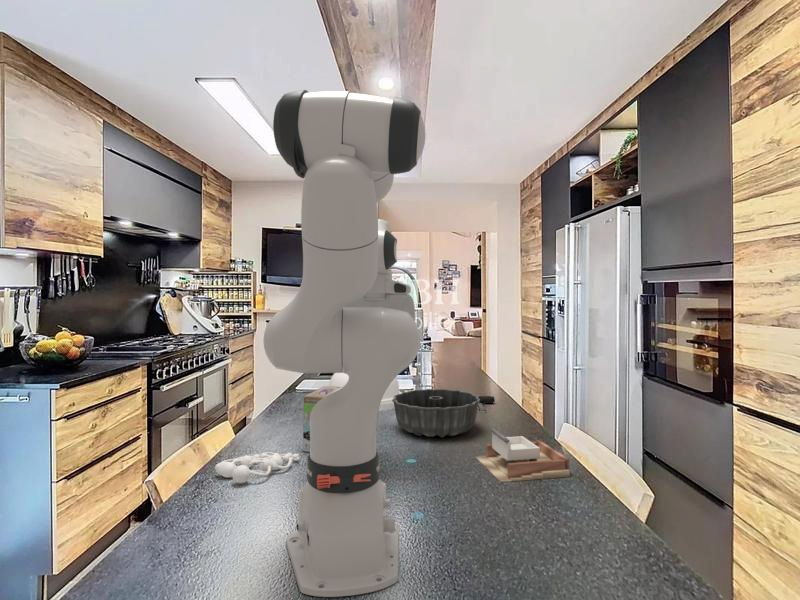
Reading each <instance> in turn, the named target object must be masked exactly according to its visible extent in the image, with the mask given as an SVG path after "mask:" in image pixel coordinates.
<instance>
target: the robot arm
mask: <svg viewBox="0 0 800 600" xmlns="http://www.w3.org/2000/svg"><path fill="white" fill-rule="evenodd" d="M272 123H273V124H272V130H273V137H274V142H275V147H276V149H277V151H278V153H279V155H280V156H281V158H282V159H283V160H284V162H286V165H288V166H290V167H291V168H292V169H293V171H294V173H295V175H296V176H298V177H299V178H301V179H304V180H303V186H302V195H301V207H300V209H301V211H300V213H301V214H300V215H301V217H300V219H301V220H300V223H301V241H302V243H301V244H302V278H301V279H302V280H301V283H300V287H299V289H298V291H297V293H296V295H295V296H294V298H293V299H292V300H291V301H290V302H289V303H288V304H287V305H286V306H285V307H284V308H282V309H280V310H278V311H277V312H276V313H274V315H273V316H272V317H271V318H270V320H269V321H268V323H267V325H266V326H265V330H264V332H263V333H264V334H263V347H264V348H263V349H264V351H265V355H266V357H267V359H268V360H269V362H270V363H271V364H272V366H273V367H275V369H279V370H284V371H287V372H294V373H299V374H334V373H345V374H347V375H348V376H349V379H348V382H347V383H346V385H345V386H344V387H342V388H341V389H339V390H337V391H335V392H333V393H331V394H329V395H327V396H326V397H324V398H322V399H321V400H320V401H318V402H317V403H316V404H315V406H314V407H313V409H312V411H311V414H310V452H309V454H308V456H307V460H306V461H307V462H306V478H307V481H306V483H305V484H304V485H303V486H302V487H301V489H299V490H298V499H297V500H298V504H297V505H298V506H297V515H298V516H297V524H296V530H295V531H293V532H291V533H289V534H288V535H286V537H285V538H286V539H285V546H286V549H287V553H288V557H289V558H290V559H291V560H290V563H291V567H292V568H293V569H294V570H293V573H294V577H295V579H296V582H297V586H298V589H299V591H300V592H301V594H305V595H306V596H313V597H320V598H321V597H323V598H337V597H347V596H356V595H357V596H358V595H363V594H368V593H373V592H377V591H380V590H384V589H386V588H388V587H391V586H392V585H394V584H396V583H397V582H398V580H399V562H400V561H399V557H400V556H399V552H400V551H399V548H400V547H399V545H400V544H399V540H400V539H399V537H400V536H399V535H400V534H399V531H400V530H399V526H398V525H397V524H396V523H395V522H396V521H395V516H394V515H389V516H387V509H388V508H391V498H387V494H386V493H387V484H386V483H385V482H384V481H382V480H381V479H380V467H381V466H380V459H379V452H378V451H377V430H378V419H379V418H378V416H379V412H380V411H379V406H380V403H381V400H382V397H383V395H384V393H385V391H386V389H387V388H388V386H389V385H390V383H391V382H392V381H393V380H394V379H395V377H396V378H397V376H398V375H400V374H401V373H402V372H403V371H405V370H406V369H408V368H409V366H410V365H411V364H412V363H413V362H414V360H415V359H416V357H417V355H418V353H419V351H420V347H421V334H420V328H419V327H418V325H417V323H416V308H415V307H416V306H415V301H414V298H413V297H412V296H411V295H410V293H411V291H412V288H411V286H410V285H409V284H406V283H403V282H401V281H398V280H394V279H393V272H392V267H393V266H394V265H395V264H396V263H397V262H398V259H397V244H398V243H397V242H398V239H397V238H396V237H395V236H394V235H393V234H392V232H391V228H390V223H389V222H388V221H387V220H384V219H383V218H379V212H378V203H379V202H381V201H382V200H383V199H384V198H385V197H386V196H387V195H388V193H389V192H390V191H391V190H392V189H391V188H392V186H393V183H394V178H395V175H398V174H406V173H408V172H410V171H412V170H413V169H414V168H415V167H416V166H417V165H418V162H419V159H421V156H422V154H423V152H424V150H425V149H424V148H425V144H426V136H427V135H426V126H425V122H424V119H423V117H422V111H421V109H420V108H419V107H418V106H417V105H416V103H415V102H413V101H410V100H407V99H404V98H402V97H396V96H394V98H393V99H392V98H389V97H384V96H379V95H374V94H368V93H367V94H366V93H357V92H352V91H350V90H323V91H322V90H321V91H310V92H309V91H308V90H307V89H302V90H295V91H291V92H287V93H284V94H283V95H282V96H281V98H280V99H279V100H278V102H277V104H276V105H275V109H274V114H273V122H272ZM378 411H379V412H378Z"/></svg>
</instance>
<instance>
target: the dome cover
mask: <svg viewBox="0 0 800 600" xmlns="http://www.w3.org/2000/svg"><path fill="white" fill-rule="evenodd" d="M348 379H349V376H348V375H347V374H345V373H333V374H332V376H331V378H330V380H329V384H328V386H334V387H344V386H345V385H346V383H347V382H348ZM399 386H400V385H399V383H398V379H397V376H396V377H395V379H394V380H393V381H392V382H391V383H390V385H389V386H388V388H387V389H386V391H385V393H384V395H383V397H382V400H381V403H380V406H379V411H378V413H379V412H383V411H382V410H384V411H389V410H388V409H390V410H393V409H392V408H394V409H395V407H394V402H393V401H392V399H394V398H393V397H394V396H395V395H397V394H401V393H402V391H400V387H399Z"/></svg>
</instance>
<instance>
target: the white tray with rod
mask: <svg viewBox="0 0 800 600" xmlns="http://www.w3.org/2000/svg"><path fill="white" fill-rule="evenodd" d="M489 431H490V432H491V444H492V448H493V449H494V450H495V454H496V455H498V456H499V455H501V456H502V457H504V458H505V459H506V460H507V461H506V462H507V464H508V463H514V460H524V459H529V462H531V461H537V459H538V458H540V448H539V447H538V446H536V445H535V444H533V443H532V442H533V441H530V440H529V439H528V438H526V437H524V436H523V435H522V436H521V435H520V436H505V435H503V434H502V433H500V431H499V430H496V429H495V428H494V427H491V428H490V429H489Z"/></svg>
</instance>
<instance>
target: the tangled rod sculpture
mask: <svg viewBox="0 0 800 600" xmlns="http://www.w3.org/2000/svg"><path fill="white" fill-rule="evenodd" d="M299 460H300V454H299V453H293V454H292V452H287V453H283V454H279V453H278V452H275V453H274V452H271V451H268V452H267V451H266V452H263V453H261V454H259V453H256V454H254V455H247V454H246V455H244V456H240V457H236V458H229V459H225V460H222V461H221V462H219V463H217V464H215V466H214V470H215V471H216V472H217V473H218V474H219V475H221V476H223V477H224V478H227V479H229V478H232V479H233V481H234V482H235V483H236V484H239V485H240V484H245V483H247V482H248V481H249V480H250V478H251V475H252V476H255V477H267V476H269V475H270V474H271V471H279V470H288V468H290V467H291V465H292V463H293V462H297V461H299ZM284 462H286V463H287V464H286V465H284ZM237 463H239V464H240V465H236V464H237ZM255 464H257V465H258V464H259V465H258V467H259V469H260V470H261V471H263V472H257V471H254V470H251V469H250V468H251V467H252V466H253V465H255Z"/></svg>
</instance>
